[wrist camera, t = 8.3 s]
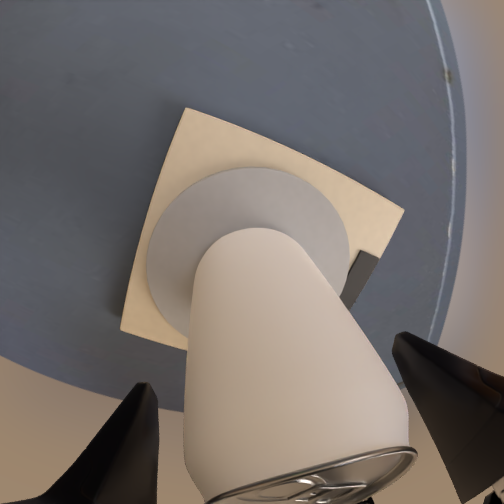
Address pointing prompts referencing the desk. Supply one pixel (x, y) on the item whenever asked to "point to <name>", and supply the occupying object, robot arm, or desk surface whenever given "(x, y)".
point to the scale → (246, 219)
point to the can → (284, 383)
